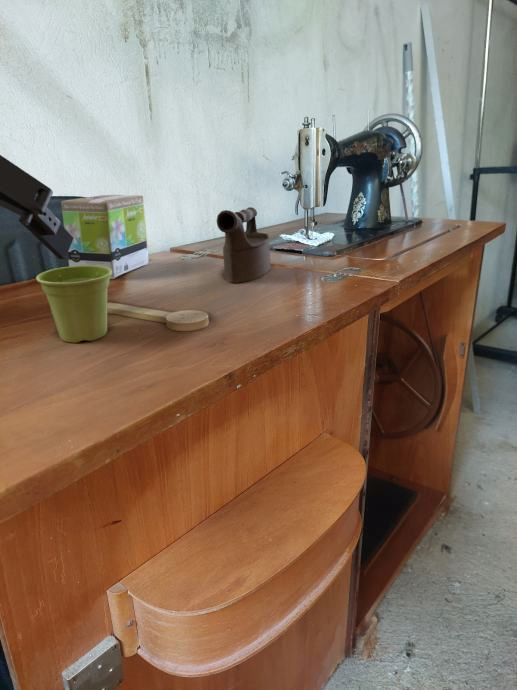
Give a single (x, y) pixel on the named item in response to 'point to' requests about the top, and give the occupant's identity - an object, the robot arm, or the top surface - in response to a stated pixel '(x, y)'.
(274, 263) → the top surface
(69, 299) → the plant pot
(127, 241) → the tea box
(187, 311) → the spoon
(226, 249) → the clothes iron
